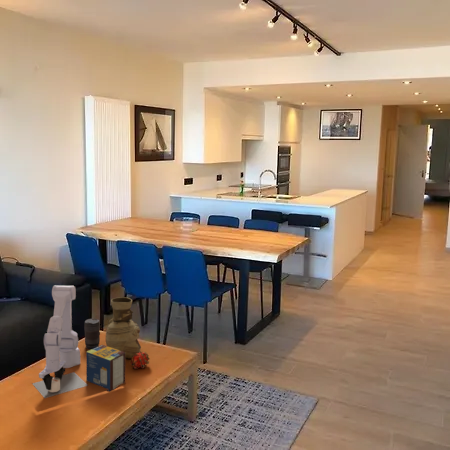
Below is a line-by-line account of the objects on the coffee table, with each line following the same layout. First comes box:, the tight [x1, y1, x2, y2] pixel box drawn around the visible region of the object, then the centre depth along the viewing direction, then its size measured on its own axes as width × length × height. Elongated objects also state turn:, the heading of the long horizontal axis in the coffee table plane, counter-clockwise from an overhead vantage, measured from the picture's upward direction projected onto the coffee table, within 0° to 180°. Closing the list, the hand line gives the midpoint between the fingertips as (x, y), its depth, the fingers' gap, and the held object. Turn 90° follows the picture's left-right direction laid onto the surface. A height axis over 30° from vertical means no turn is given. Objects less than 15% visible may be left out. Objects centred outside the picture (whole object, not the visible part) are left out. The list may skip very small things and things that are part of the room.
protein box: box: [85, 344, 126, 392], centre depth 230 cm, size 10×15×16 cm
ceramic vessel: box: [105, 296, 142, 360], centre depth 262 cm, size 19×21×30 cm
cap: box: [48, 376, 60, 392], centre depth 220 cm, size 5×5×5 cm
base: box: [31, 371, 89, 399], centre depth 226 cm, size 20×16×4 cm
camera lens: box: [83, 318, 101, 350], centre depth 269 cm, size 8×8×15 cm
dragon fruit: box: [130, 350, 150, 370], centre depth 248 cm, size 8×8×12 cm
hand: (53, 386), depth 220 cm, fingers closed on cap, 5 cm apart
